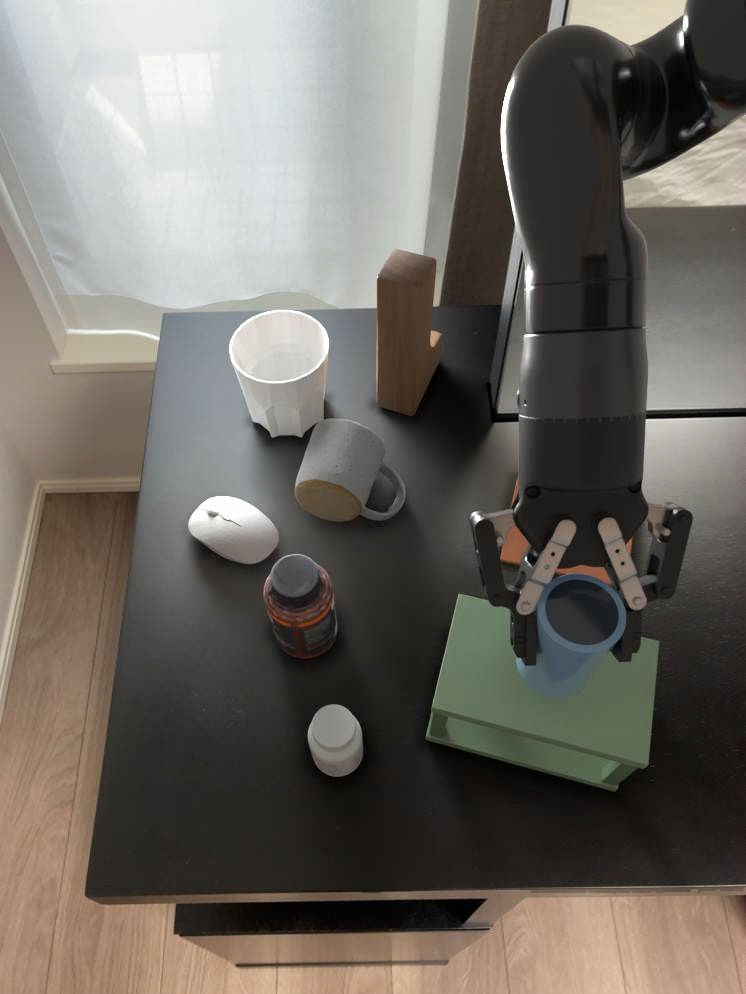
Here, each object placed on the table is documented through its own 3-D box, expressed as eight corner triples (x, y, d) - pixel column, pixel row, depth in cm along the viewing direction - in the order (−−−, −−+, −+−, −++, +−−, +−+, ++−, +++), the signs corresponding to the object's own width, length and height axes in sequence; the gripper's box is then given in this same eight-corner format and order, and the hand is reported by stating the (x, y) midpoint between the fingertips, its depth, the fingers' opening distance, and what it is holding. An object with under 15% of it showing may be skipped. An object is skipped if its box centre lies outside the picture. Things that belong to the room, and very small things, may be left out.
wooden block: (403, 351, 88) (409, 216, 72) (440, 361, 87) (454, 226, 71) (375, 406, 84) (374, 277, 68) (413, 418, 83) (421, 288, 67)
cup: (332, 445, 81) (326, 382, 73) (240, 445, 82) (224, 383, 73) (334, 375, 86) (330, 309, 78) (248, 376, 87) (234, 310, 78)
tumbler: (596, 637, 57) (631, 583, 49) (587, 707, 54) (621, 661, 47) (522, 620, 58) (544, 564, 50) (510, 687, 55) (531, 639, 48)
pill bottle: (351, 718, 66) (348, 689, 59) (371, 765, 64) (370, 740, 57) (304, 738, 65) (296, 710, 59) (323, 785, 63) (316, 763, 57)
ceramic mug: (293, 517, 77) (286, 474, 70) (316, 454, 81) (311, 408, 74) (394, 540, 75) (397, 499, 69) (412, 475, 79) (417, 429, 72)
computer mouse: (217, 493, 79) (212, 476, 76) (292, 538, 76) (290, 523, 73) (180, 534, 77) (173, 518, 74) (256, 582, 73) (252, 567, 71)
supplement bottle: (350, 619, 71) (345, 562, 61) (317, 672, 68) (307, 621, 59) (296, 591, 73) (284, 531, 63) (262, 642, 70) (244, 587, 60)
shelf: (626, 680, 67) (659, 641, 59) (614, 792, 62) (648, 765, 54) (449, 636, 70) (458, 593, 62) (425, 739, 65) (431, 707, 57)
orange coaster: (635, 504, 76) (636, 502, 76) (625, 589, 71) (626, 588, 71) (516, 479, 78) (517, 477, 78) (499, 561, 73) (500, 559, 73)
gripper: (474, 419, 43) (476, 689, 47) (728, 405, 43) (707, 679, 47) (456, 408, 50) (459, 643, 55) (673, 396, 50) (659, 634, 54)
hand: (574, 658), depth 51 cm, fingers closed on tumbler, 5 cm apart
